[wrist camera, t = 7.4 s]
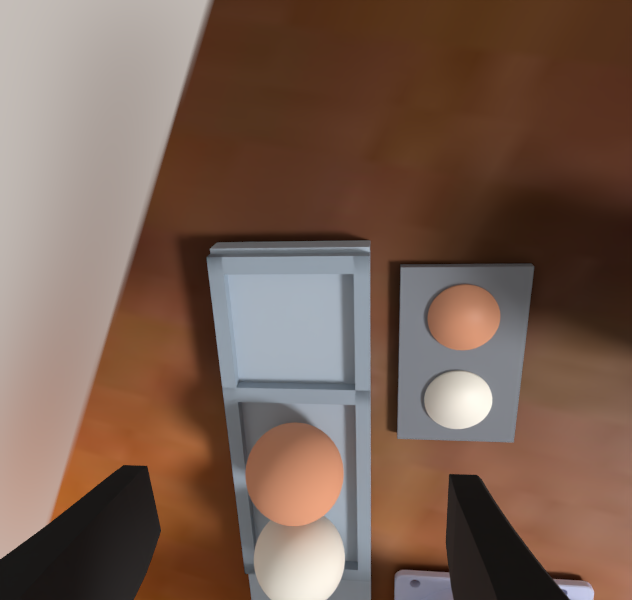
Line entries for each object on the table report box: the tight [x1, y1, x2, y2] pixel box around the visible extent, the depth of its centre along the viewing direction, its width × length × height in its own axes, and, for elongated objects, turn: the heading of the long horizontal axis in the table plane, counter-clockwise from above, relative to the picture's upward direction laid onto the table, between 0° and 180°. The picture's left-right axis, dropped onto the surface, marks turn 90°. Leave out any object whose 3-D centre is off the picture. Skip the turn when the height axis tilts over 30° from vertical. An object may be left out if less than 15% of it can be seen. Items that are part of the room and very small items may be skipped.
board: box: [206, 240, 371, 600], centre depth 23 cm, size 6×20×2 cm, turn 2°
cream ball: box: [254, 516, 345, 600], centre depth 22 cm, size 4×4×4 cm
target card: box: [397, 263, 534, 442], centre depth 21 cm, size 5×8×1 cm, turn 2°
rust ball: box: [245, 422, 344, 526], centre depth 21 cm, size 4×4×4 cm
